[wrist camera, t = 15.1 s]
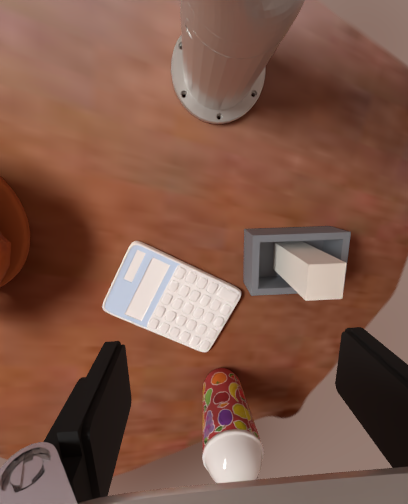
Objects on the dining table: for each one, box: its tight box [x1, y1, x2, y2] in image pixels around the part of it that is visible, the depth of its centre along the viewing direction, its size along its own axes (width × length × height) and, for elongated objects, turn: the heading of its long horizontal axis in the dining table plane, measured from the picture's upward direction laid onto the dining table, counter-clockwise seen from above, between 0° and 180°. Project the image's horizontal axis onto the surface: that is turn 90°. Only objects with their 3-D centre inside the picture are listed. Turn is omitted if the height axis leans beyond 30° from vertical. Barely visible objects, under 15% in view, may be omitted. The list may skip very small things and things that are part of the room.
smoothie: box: [202, 368, 264, 483], centre depth 38 cm, size 8×8×20 cm
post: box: [273, 241, 347, 301], centre depth 35 cm, size 4×4×12 cm
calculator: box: [102, 241, 241, 352], centre depth 42 cm, size 13×20×2 cm, turn 62°
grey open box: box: [244, 226, 351, 296], centre depth 39 cm, size 9×14×6 cm, turn 91°
